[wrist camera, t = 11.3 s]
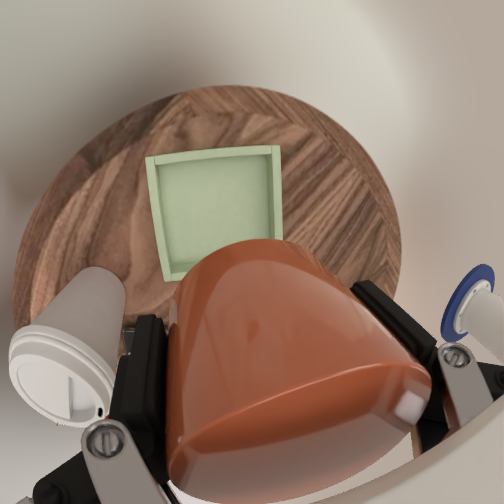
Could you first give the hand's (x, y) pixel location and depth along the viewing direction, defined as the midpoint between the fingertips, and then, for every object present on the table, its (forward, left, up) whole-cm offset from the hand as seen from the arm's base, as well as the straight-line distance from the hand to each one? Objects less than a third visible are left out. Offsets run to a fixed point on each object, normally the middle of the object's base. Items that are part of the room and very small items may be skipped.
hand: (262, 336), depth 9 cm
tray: (0, 0, -19) cm, 19 cm away
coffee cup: (+14, +8, -20) cm, 25 cm away
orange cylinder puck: (0, 0, -1) cm, 1 cm away
